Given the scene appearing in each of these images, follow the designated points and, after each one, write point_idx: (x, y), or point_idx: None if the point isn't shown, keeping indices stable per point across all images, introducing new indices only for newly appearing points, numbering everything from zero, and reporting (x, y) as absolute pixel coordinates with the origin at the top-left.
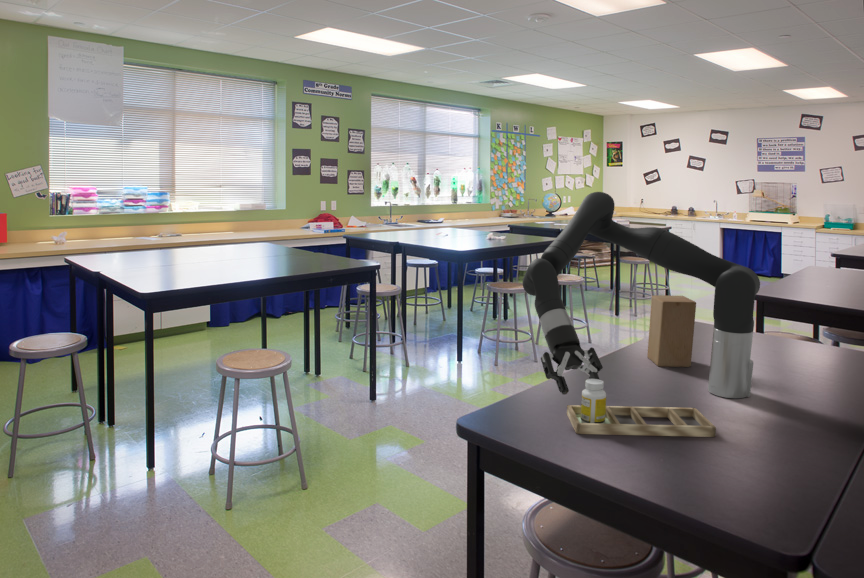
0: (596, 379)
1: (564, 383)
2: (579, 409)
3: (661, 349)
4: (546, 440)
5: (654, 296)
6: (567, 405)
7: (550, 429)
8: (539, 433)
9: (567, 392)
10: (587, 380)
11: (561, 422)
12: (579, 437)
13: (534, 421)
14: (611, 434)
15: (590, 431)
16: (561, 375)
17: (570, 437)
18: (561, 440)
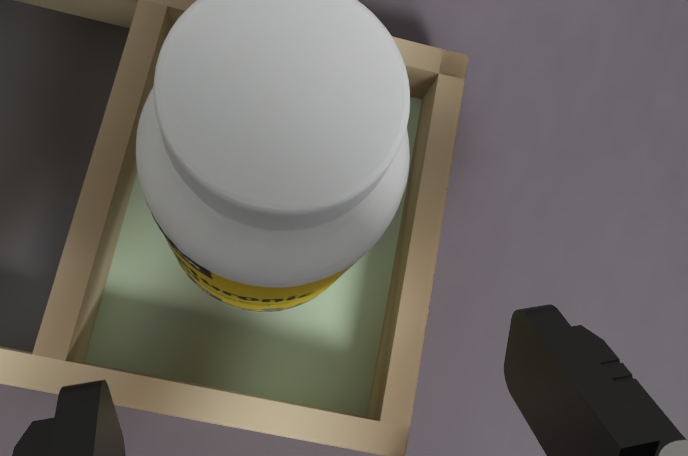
0: (219, 158)
1: (589, 362)
2: (303, 405)
3: None
4: (652, 39)
5: None
6: (405, 448)
7: (589, 185)
8: (671, 139)
9: (512, 331)
10: (373, 144)
11: (481, 288)
12: (445, 37)
13: (663, 335)
14: None
15: None
16: (665, 452)
17: (500, 49)
18: (567, 22)
